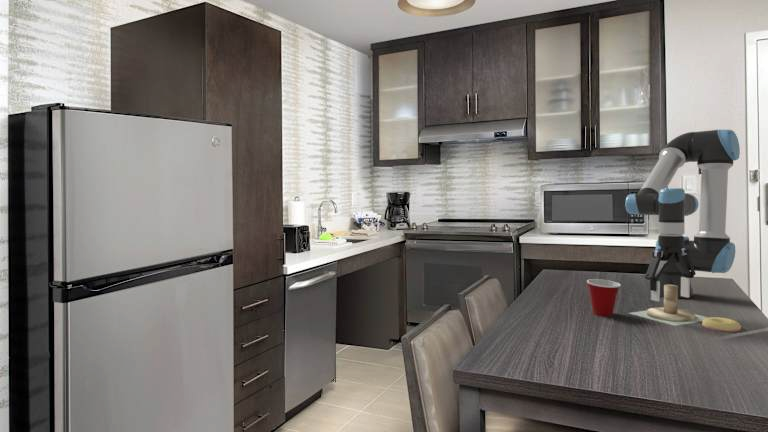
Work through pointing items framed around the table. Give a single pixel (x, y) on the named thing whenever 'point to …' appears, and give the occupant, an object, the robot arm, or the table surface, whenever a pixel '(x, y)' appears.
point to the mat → (674, 323)
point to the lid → (670, 307)
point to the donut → (721, 324)
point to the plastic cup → (603, 296)
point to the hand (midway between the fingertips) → (670, 298)
